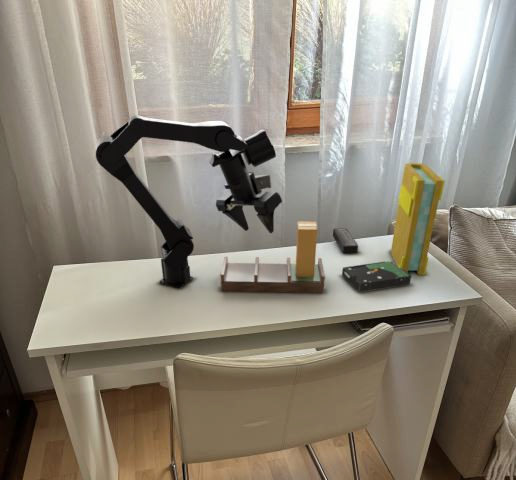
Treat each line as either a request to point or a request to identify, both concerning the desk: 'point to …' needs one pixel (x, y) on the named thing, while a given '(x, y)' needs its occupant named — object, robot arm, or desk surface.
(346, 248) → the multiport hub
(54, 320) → the desk surface
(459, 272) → the desk surface
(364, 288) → the disk drive
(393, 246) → the book
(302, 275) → the package
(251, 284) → the rack
